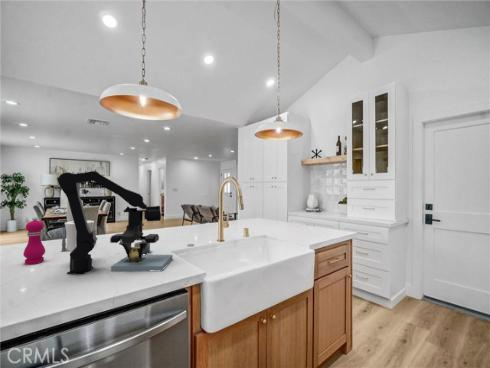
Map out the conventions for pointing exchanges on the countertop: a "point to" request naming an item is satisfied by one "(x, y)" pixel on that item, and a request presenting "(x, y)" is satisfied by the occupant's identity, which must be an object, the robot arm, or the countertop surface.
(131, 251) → the brass fitting
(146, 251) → the black coupling
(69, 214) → the skyscraper
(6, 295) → the countertop surface
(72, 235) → the cup
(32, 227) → the pepper mill
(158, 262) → the socket board
